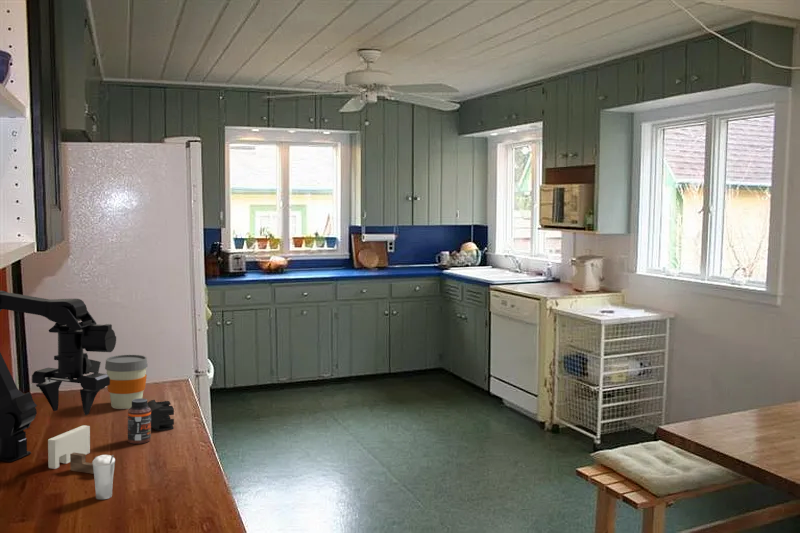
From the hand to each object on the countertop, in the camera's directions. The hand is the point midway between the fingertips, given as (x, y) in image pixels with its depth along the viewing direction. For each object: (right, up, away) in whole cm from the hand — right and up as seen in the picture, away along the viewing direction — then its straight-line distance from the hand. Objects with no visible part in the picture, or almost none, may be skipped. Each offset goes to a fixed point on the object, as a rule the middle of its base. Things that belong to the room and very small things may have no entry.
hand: (71, 412), depth 175 cm
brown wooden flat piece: (+8, -13, -7) cm, 16 cm away
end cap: (+12, -10, +29) cm, 33 cm away
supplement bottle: (+11, -11, +16) cm, 23 cm away
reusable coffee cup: (-5, -8, +50) cm, 51 cm away
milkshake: (+17, -14, -21) cm, 31 cm away
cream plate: (-1, -12, +1) cm, 12 cm away
